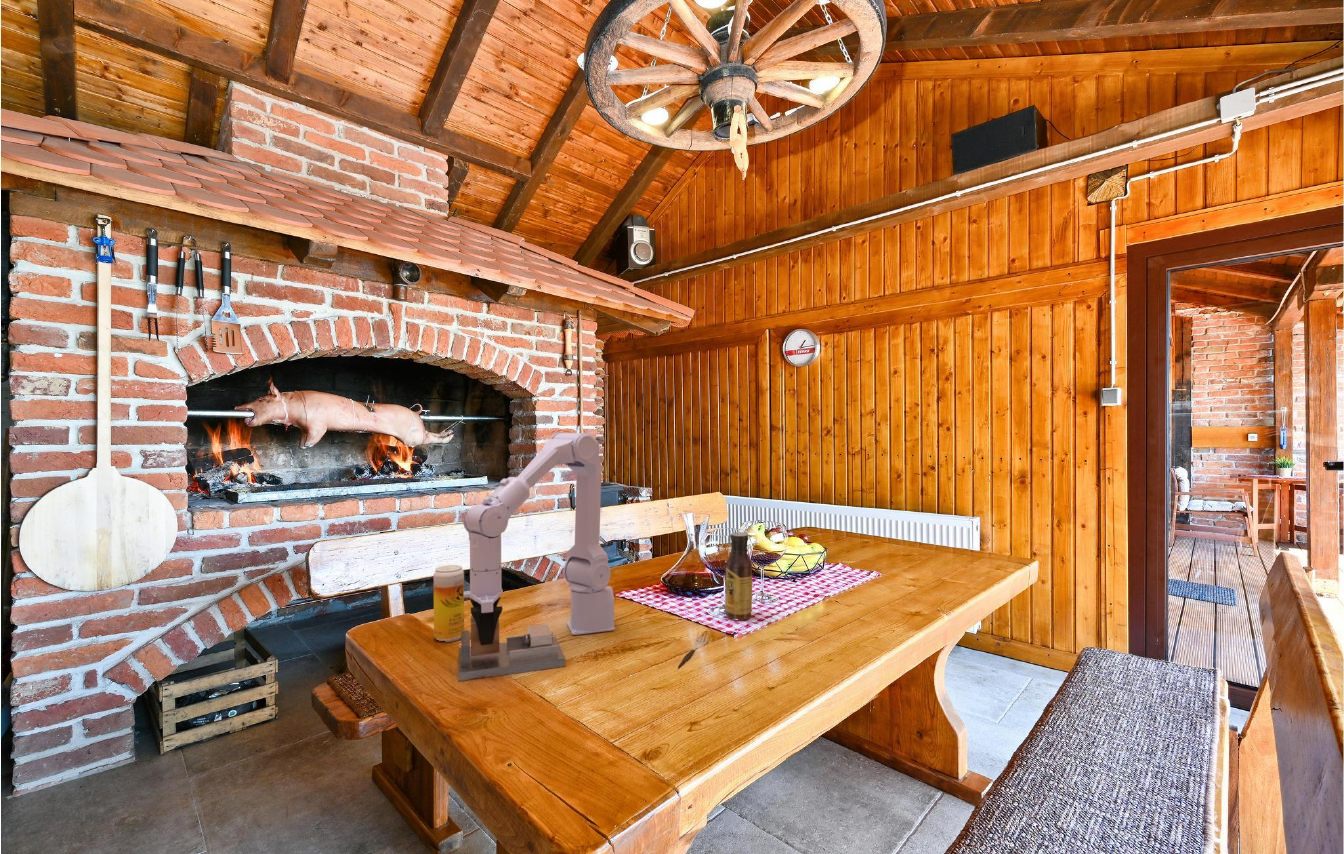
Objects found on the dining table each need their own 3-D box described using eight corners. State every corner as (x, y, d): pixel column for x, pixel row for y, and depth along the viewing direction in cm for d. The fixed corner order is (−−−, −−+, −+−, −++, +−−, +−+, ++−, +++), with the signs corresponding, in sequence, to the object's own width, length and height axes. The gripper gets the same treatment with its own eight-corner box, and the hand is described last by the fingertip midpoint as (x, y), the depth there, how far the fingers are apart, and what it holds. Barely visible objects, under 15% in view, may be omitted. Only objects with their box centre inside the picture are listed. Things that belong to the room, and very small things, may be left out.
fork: (671, 669, 112) (671, 659, 112) (698, 639, 127) (698, 630, 127) (684, 671, 111) (684, 660, 111) (709, 641, 126) (709, 632, 126)
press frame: (555, 643, 124) (555, 617, 124) (564, 666, 113) (564, 637, 113) (458, 655, 118) (458, 628, 118) (458, 681, 106) (458, 650, 106)
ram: (547, 641, 120) (547, 624, 120) (552, 652, 115) (551, 634, 115) (522, 644, 119) (522, 626, 119) (525, 655, 113) (525, 637, 113)
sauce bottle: (723, 613, 143) (723, 530, 143) (748, 612, 144) (748, 530, 143) (728, 622, 137) (728, 536, 136) (754, 621, 137) (754, 535, 137)
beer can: (454, 644, 124) (453, 572, 124) (428, 641, 125) (427, 570, 125) (469, 633, 130) (469, 565, 130) (444, 631, 131) (444, 563, 131)
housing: (497, 642, 117) (497, 606, 117) (499, 652, 112) (498, 614, 112) (471, 646, 115) (470, 609, 115) (471, 656, 110) (470, 617, 110)
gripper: (463, 560, 119) (463, 628, 119) (463, 579, 105) (463, 655, 105) (500, 558, 121) (500, 624, 121) (504, 575, 108) (505, 650, 108)
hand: (486, 638), depth 114 cm, fingers closed on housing, 5 cm apart
